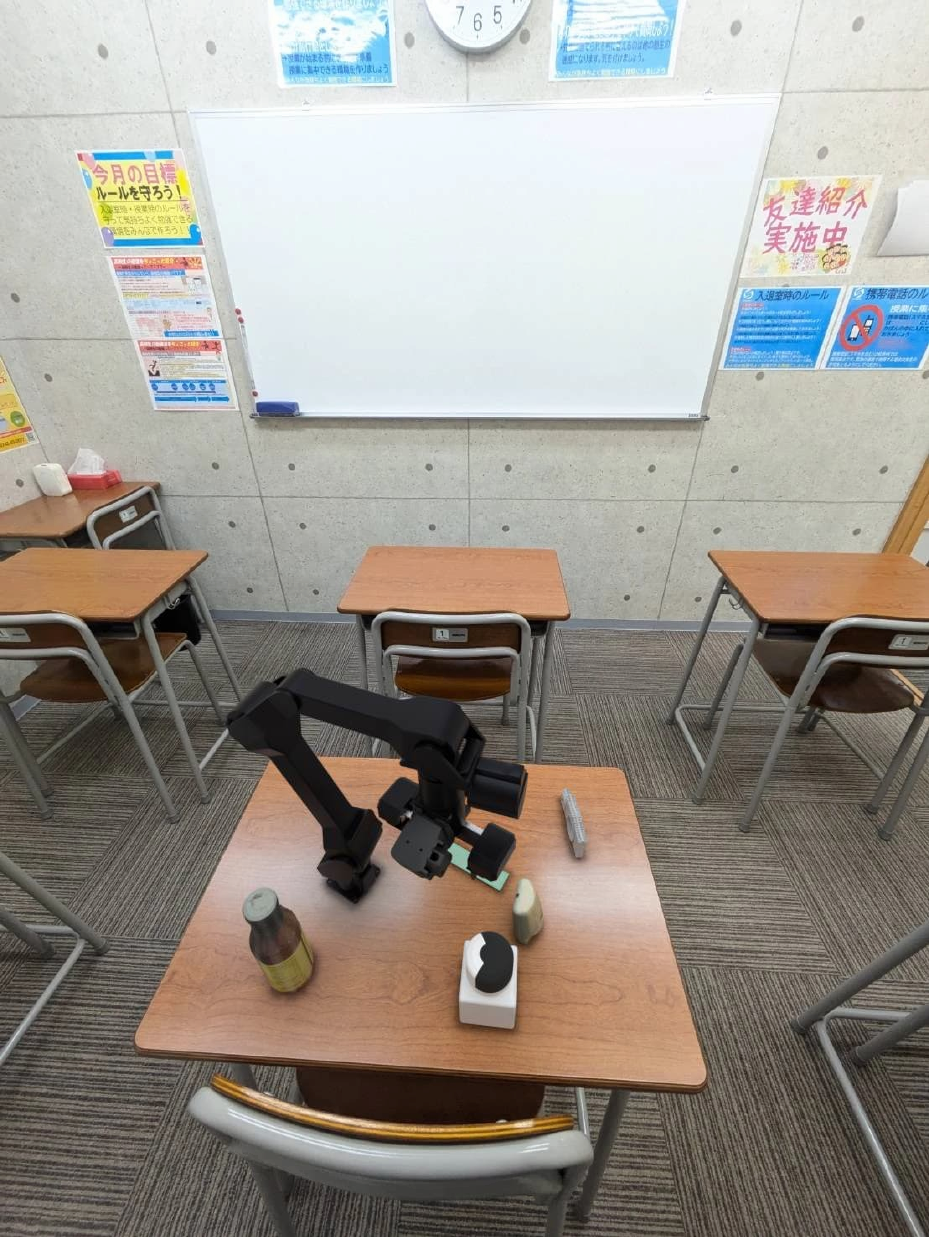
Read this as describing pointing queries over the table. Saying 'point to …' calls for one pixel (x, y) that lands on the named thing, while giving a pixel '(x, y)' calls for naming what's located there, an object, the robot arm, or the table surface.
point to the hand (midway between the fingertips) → (446, 860)
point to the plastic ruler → (460, 861)
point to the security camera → (488, 981)
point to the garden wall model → (574, 822)
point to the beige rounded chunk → (527, 911)
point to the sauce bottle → (278, 942)
